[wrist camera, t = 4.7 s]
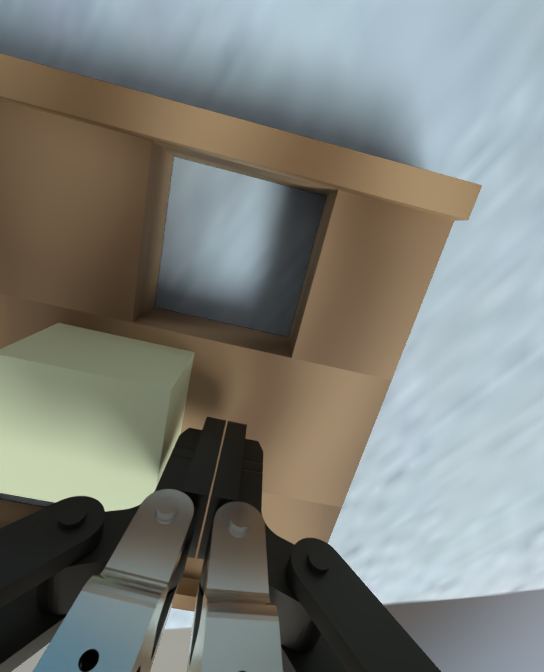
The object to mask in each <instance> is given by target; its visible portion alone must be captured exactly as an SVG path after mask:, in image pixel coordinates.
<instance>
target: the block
mask: <svg viewBox="0 0 544 672" xmlns="http://www.w3.org/2000/svg"><path fill="white" fill-rule="evenodd" d="M193 358H194V352H191V351H187V350H182V349H177V348H173V347H168V346H164V345H159V344H154V343H150V342H145V341H141V340H136V339H131V338H127V337H122V336H118V335H113V334H108V333H104V332H99V331H94V330H90V329H85V328H81V327H76V326H71V325H67V324H62V323H57V324H55V325H53V326H50V327H48V328H46V329H44V330H42V331H39V332H37V333H35V334H33V335H31V336H28V337H26V338H24V339H22V340H20V341H17V342H15V343H13V344H11V345H9V346H6V347H4V348H2V349H0V493H4V494H9V495H15V496H21V497H26V498H32V499H38V500H43V501H49V502H55V503H56V502H58V501H60V500H63V499H66V498H69V497H74V496H88V497H92V498H95V499H96V500H98V501H99V502H100V503H101V504H102V505H103V507H104V510H105V511H115V510H124V509H129V508H133V507H136V506H138V505H140V504H142V502H143V501H144V499H145V498H146V497H147V496H149V495H150V494H152V493H154V491H155V489H156V487H157V485H158V482H159V480H160V478H161V476H162V473H163V471H164V469H165V467H166V464H167V462H168V460H169V458H170V456H171V453H172V451H173V448H174V447H175V444H176V442H177V439H178V437H179V435H180V433H181V427H182V421H183V416H184V410H185V404H186V398H187V393H188V387H189V381H190V375H191V369H192V364H193Z"/></svg>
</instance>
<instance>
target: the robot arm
mask: <svg viewBox="0 0 544 672" xmlns="http://www.w3.org/2000/svg"><path fill="white" fill-rule="evenodd" d="M225 424H226V420H222V419H217V418H212V417H207V418H206V420H205V423H204V426H203V429H202V430H199V429H194V428H188V429H187V430H185V431H184V432H183V433H182V434H180V435H179V437H178V439H177V442H176V444H175V447H174V448H173V451H172V453H171V456H170V458H169V460H168V462H167V464H166V467H165V469H164V471H163V473H162V476H161V478H160V480H159V482H158V485H157V487H156V489H155V491H154V493H152V494H150V495H149V496H147V497H146V498H145V499H144V501H143V502H142V504H140V505H138V506H136V507H133V508H129V509H124V510H115V511H106V512H105V510H104V507H103V505H102V504H101V503H100V502H99V501H98V500H96V499H95V498H92V497H88V496H74V497H69V498H66V499H63V500H60V501H58V502H56V503H54V504H52V505H50V506H47V507H45V508H43V509H41V510H39V511H37V512H35V513H32V514H30V515H28V516H26V517H24V518H22V519H19V520H17V521H15V522H13V523H11V524H9V525H6V526H4V527H2V528H0V672H11V671H12V670H14V669H15V668H16V667H18V666H19V665H20V664H21V663H23V662H24V661H26V660H27V659H28V658H30V657H31V656H32V655H34V654H35V653H36V652H38V651H39V650H40V649H42V648H43V647H44V646H45V645H47V644H48V643H50V644H49V645H48V647H47V649H46V650H45V652H44V654H43V655H42V657H41V659H40V660H39V662H38V664H37V666H36V667H35V669H34V670H33V672H150V670H151V667H152V664H153V661H154V658H155V655H156V652H157V649H158V646H159V643H160V640H161V637H162V634H163V631H164V628H165V625H166V622H167V619H168V616H169V613H170V610H171V607H172V604H173V601H174V598H175V595H176V592H177V589H178V586H179V582H180V580H181V578H182V576H183V573H184V570H185V566H186V562H187V558H188V557H191V558H195V555H196V551H197V546H198V542H199V538H200V533H201V529H202V525H203V520H204V516H205V512H206V507H207V503H208V499H209V494H210V490H211V486H212V481H213V477H214V473H215V468H216V464H217V460H218V455H219V451H220V446H221V442H222V437H223V433H224V428H225ZM246 429H247V424H242V423H237V422H232V421H228V423H227V427H226V432H225V436H224V440H223V445H222V449H221V454H220V458H219V463H218V467H217V472H216V476H215V481H214V485H213V489H212V494H211V498H210V503H209V507H208V512H207V516H206V521H205V525H204V530H203V534H202V538H201V543H200V547H199V552H198V556H197V558H198V559H204V561H203V566H202V571H201V576H200V581H199V585H198V589H197V596H196V603H195V611H194V618H193V626H192V634H191V641H190V649H189V656H188V664H187V672H441V671H440V670H439V669H438V668H437V667H436V666H435V664H434V663H433V662H432V661H431V660H430V659H429V657H428V656H427V655H426V654H425V653H424V652H423V651H422V649H421V648H420V647H419V646H418V645H417V644H416V642H414V640H413V639H412V638H411V637H410V636H409V634H408V633H407V632H406V631H405V630H404V629H403V628H402V626H401V625H400V624H399V623H398V622H397V621H396V620H395V618H394V617H393V616H392V615H391V614H390V613H389V611H388V610H387V609H386V608H385V607H384V606H383V605H382V603H381V602H380V601H379V600H378V599H377V598H376V596H375V595H374V594H373V593H372V592H371V591H370V590H369V588H368V587H367V586H366V585H365V584H364V583H363V582H362V580H361V579H360V578H359V577H358V576H357V575H356V573H355V572H354V571H353V570H352V569H351V568H350V567H349V565H348V564H347V563H346V562H345V561H344V560H343V559H342V557H341V556H340V555H339V554H338V553H337V552H336V551H335V550H334V548H333V547H331V546H330V545H329V544H328V543H326V542H324V541H322V540H320V539H317V538H304V539H301V540H299V541H298V542H297V543H296V544H295V545H294V544H293V543H291V542H289V541H287V540H285V539H283V538H281V537H279V536H278V535H276V534H275V533H274V532H272V531H271V530H270V529H269V527H268V526H267V525H266V523H265V521H264V519H263V516H262V510H261V508H262V480H263V474H262V473H263V450H262V448H261V446H260V444H259V442H258V441H255V440H250V439H245V437H246Z"/></svg>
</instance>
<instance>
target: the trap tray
mask: <svg viewBox="0 0 544 672" xmlns="http://www.w3.org/2000/svg"><path fill="white" fill-rule="evenodd" d="M174 156H175V157H179V158H182V159H186V160H190V161H194V162H198V163H202V164H205V165H209V166H213V167H217V168H221V169H224V170H228V171H232V172H236V173H240V174H244V175H247V176H251V177H255V178H259V179H263V180H266V181H270V182H274V183H278V184H282V185H286V186H289V187H293V188H297V189H301V190H305V191H308V192H312V193H316V194H320V195H324V196H326V200H325V204H324V208H323V211H322V215H321V219H320V222H319V226H318V230H317V234H316V237H315V241H314V245H313V248H312V252H311V256H310V260H309V263H308V267H307V271H306V274H305V278H304V282H303V286H302V289H301V293H300V297H299V300H298V304H297V308H296V312H295V315H294V319H293V323H292V327H291V330H290V334H289V337H284V336H280V335H275V334H271V333H267V332H262V331H258V330H253V329H249V328H244V327H240V326H236V325H231V324H227V323H222V322H218V321H213V320H209V319H205V318H200V317H196V316H191V315H187V314H182V313H178V312H174V311H169V310H165V309H160V308H156V307H155V301H156V293H157V285H158V277H159V269H160V261H161V253H162V245H163V238H164V230H165V222H166V214H167V206H168V198H169V190H170V182H171V175H172V167H173V159H174ZM481 187H482V185H479V184H475V183H472V182H468V181H464V180H461V179H457V178H454V177H450V176H446V175H443V174H439V173H435V172H432V171H428V170H424V169H421V168H417V167H413V166H410V165H406V164H403V163H399V162H395V161H392V160H388V159H384V158H381V157H377V156H373V155H370V154H366V153H362V152H359V151H355V150H352V149H348V148H344V147H341V146H337V145H333V144H330V143H326V142H322V141H319V140H315V139H311V138H308V137H304V136H301V135H297V134H293V133H290V132H286V131H282V130H279V129H275V128H271V127H268V126H264V125H260V124H257V123H253V122H250V121H246V120H242V119H239V118H235V117H231V116H228V115H224V114H220V113H217V112H213V111H209V110H206V109H202V108H199V107H195V106H191V105H188V104H184V103H180V102H177V101H173V100H169V99H166V98H162V97H158V96H155V95H151V94H148V93H144V92H140V91H137V90H133V89H129V88H126V87H122V86H118V85H115V84H111V83H107V82H104V81H100V80H97V79H93V78H89V77H86V76H82V75H78V74H75V73H71V72H67V71H64V70H60V69H56V68H53V67H49V66H46V65H42V64H38V63H35V62H31V61H27V60H24V59H20V58H16V57H13V56H9V55H5V54H2V53H0V349H2V348H4V347H6V346H9V345H11V344H13V343H15V342H17V341H20V340H22V339H24V338H26V337H28V336H31V335H33V334H35V333H37V332H39V331H42V330H44V329H46V328H48V327H50V326H53V325H55V324H57V323H62V324H67V325H71V326H76V327H81V328H85V329H90V330H94V331H99V332H104V333H108V334H113V335H118V336H122V337H127V338H131V339H136V340H141V341H145V342H150V343H154V344H159V345H164V346H168V347H173V348H177V349H182V350H187V351H191V352H194V358H193V364H192V369H191V375H190V381H189V387H188V393H187V398H186V404H185V410H184V416H183V421H182V427H181V433H180V434H182V433H183V432H184V431H185V430H187V429H188V428H194V429H199V430H202V429H203V426H204V423H205V420H206V418H207V417H212V418H217V419H222V420H226V424H225V428H224V433H223V437H222V442H221V446H220V451H219V455H218V460H217V464H216V468H215V473H214V477H213V481H212V486H211V490H210V494H209V499H208V503H207V507H206V512H205V516H204V520H203V525H202V529H201V533H200V538H199V542H198V546H197V551H196V555H195V558H191V557H188V558H187V562H186V566H185V570H184V573H183V576H182V578H181V580H180V582H179V586H178V589H177V592H176V595H175V598H174V601H173V604H172V607H171V608H175V609H182V610H188V611H195V603H196V596H197V589H198V585H199V581H200V576H201V571H202V566H203V561H204V559H198V558H197V556H198V552H199V547H200V543H201V538H202V534H203V530H204V525H205V521H206V516H207V512H208V507H209V503H210V498H211V494H212V489H213V485H214V481H215V476H216V472H217V467H218V463H219V458H220V454H221V449H222V445H223V440H224V436H225V432H226V427H227V423H228V421H232V422H237V423H242V424H247V429H246V437H245V439H250V440H255V441H258V442H259V444H260V446H261V448H262V450H263V473H262V474H263V480H262V508H261V510H262V516H263V519H264V521H265V523H266V525H267V526H268V527H269V529H270V530H271V531H272V532H274V533H275V534H276V535H278V536H279V537H281V538H283V539H285V540H287V541H289V542H291V543H293V544H294V545H295V544H296V543H297V542H298V541H299V540H301V539H304V538H317V539H320V540H322V541H324V542H326V543H328V541H329V538H330V536H331V533H332V531H333V528H334V526H335V523H336V521H337V518H338V515H339V513H340V510H341V508H342V505H343V503H344V500H345V498H346V495H347V492H348V490H349V487H350V485H351V482H352V480H353V477H354V475H355V472H356V470H357V467H358V464H359V462H360V459H361V457H362V454H363V452H364V449H365V447H366V444H367V442H368V439H369V436H370V434H371V431H372V429H373V426H374V424H375V421H376V419H377V416H378V413H379V411H380V408H381V406H382V403H383V401H384V398H385V396H386V393H387V391H388V388H389V385H390V383H391V380H392V378H393V375H394V373H395V370H396V368H397V365H398V363H399V360H400V357H401V355H402V352H403V350H404V347H405V345H406V342H407V340H408V337H409V334H410V332H411V329H412V327H413V324H414V322H415V319H416V317H417V314H418V312H419V309H420V306H421V304H422V301H423V299H424V296H425V294H426V291H427V289H428V286H429V284H430V281H431V278H432V276H433V273H434V271H435V268H436V266H437V263H438V261H439V258H440V255H441V253H442V250H443V248H444V245H445V243H446V240H447V238H448V235H449V233H450V230H451V227H452V225H453V222H454V220H468V219H469V216H470V214H471V211H472V209H473V207H474V204H475V202H476V199H477V197H478V194H479V192H480V189H481ZM43 508H45V507H41V506H35V505H29V504H23V503H18V502H12V501H6V500H1V499H0V528H2V527H4V526H6V525H9V524H11V523H13V522H15V521H17V520H19V519H22V518H24V517H26V516H28V515H30V514H32V513H35V512H37V511H39V510H41V509H43ZM105 512H106V511H105Z"/></svg>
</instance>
